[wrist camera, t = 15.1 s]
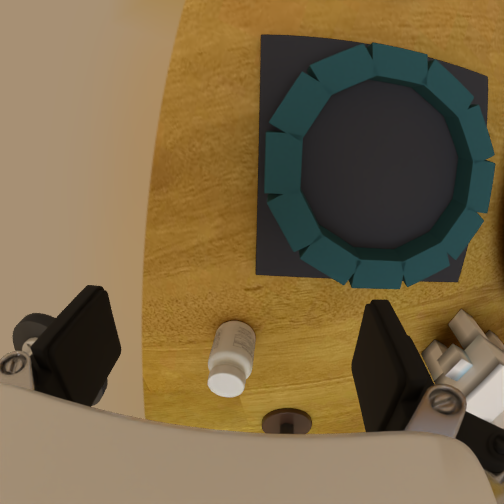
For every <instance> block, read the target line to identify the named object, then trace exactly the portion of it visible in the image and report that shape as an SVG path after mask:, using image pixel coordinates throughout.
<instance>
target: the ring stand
mask: <svg viewBox="0 0 504 504" xmlns="http://www.w3.org/2000/svg"><path fill="white" fill-rule="evenodd" d="M311 426H312V422H311V418H310V416H309V415H308V414H307V413H305V412H303V411H301V410H297V409H279V410H275V411H272V412H270V413H268V414H267V415H266V416H265V417H264V418H263V420H262V429H263V431H264V432H265V433H269V434H306V433H308V432H309V431H310V429H311Z"/></svg>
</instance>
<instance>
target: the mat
mask: <svg viewBox="0 0 504 504" xmlns="http://www.w3.org/2000/svg"><path fill="white" fill-rule="evenodd" d="M360 44H364V45H365V47H368V46H369V45H370V44H365V43H359V42H352V41H345V40H337V39H328V38H318V37H306V36H291V35H261V70H260V118H259V163H258V205H257V245H256V275H269V276H289V277H310V278H331V277H329V276H327V275H326V274H324V273H323V272H321V271H319V270H318V269H316V268H314V267H313V266H311V265H309V264H308V263H306V262H304V261H303V260H301V259H300V255H299V250H298V251H296V252H293V250H292V248H291V247H290V245H289V243H288V241H287V239H286V237H285V235H284V234H283V232H282V230H281V228H280V226H279V224H278V223H277V221H276V219H275V217H274V215H273V214H272V212H271V210H270V208H269V206H268V204H267V197H268V194H269V193H264V176H265V136H266V132H267V131H282V130H280V129H278V128H277V127H275V126H273V125H272V124H270V123H269V121H270V119H271V118H272V116H273V115H274V113H275V111H276V110H277V108H278V107H279V105H280V104H281V102H282V101H283V99H284V98H285V96H286V95H287V93H288V92H289V90H290V88H291V87H292V85H293V84H294V82H295V81H296V79H297V78H298V76H299V75H300V74H301V72H304V73H306V74H308V72H307V69H308V68H309V66H310V65H311V64H313V63H316V62H318V61H320V60H322V59H325V58H327V57H330V56H332V55H334V54H337V53H339V52H342V51H344V50H347V49H349V48H352V47H355V46H357V45H360ZM427 59H428V61H431V60H434V59H433V58H429V57H427ZM436 60H437V59H436ZM437 61H438V62H439V63H440V64H441V65H442V66H443V67H445V68H446V69H447V70H448V71H449V72H450V73H451V74H452V75H453V76H454V77H455V78H456V79H457V80H458V81H459V82H460V83H461V84H462V85H463V86H464V87H465V88H466V89H467V90H468V91H469V92H470V93H471V94H472V95H473V96H474V99H473V100H472V102H471V104H476V105H479V106H480V109H481V112H482V115H483V118H484V121H485V124H486V127H487V110H488V77H487V76H485V75H482V74H479V73H477V72H474V71H471V70H468V69H465V68H462V67H459V66H456V65H453V64H450V63H447V62H443V61H440V60H437ZM308 75H309V74H308ZM457 164H458V155H457V152H456V149H455V146H454V143H453V140H452V137H451V134H450V131H449V129H448V126H447V123H446V121H445V118H444V116H443V115H442V114H441V113H440V112H439V111H437V110H436V109H435V108H434V107H433V106H432V105H431V104H430V103H429V102H428V101H426V100H425V99H424V98H423V97H422V96H421V95H420V94H418V93H417V92H416V91H415V90H414V89H413V88H411V87H407V86H402V85H397V84H391V83H386V82H380V81H374V80H366V81H363V82H361V83H358V84H356V85H354V86H351V87H349V88H347V89H344V90H342V91H340V92H338V93H335V94H333V95H331V97H330V98H329V100H328V101H327V103H326V104H325V106H324V107H323V109H322V110H321V112H320V113H319V115H318V116H317V118H316V119H315V121H314V122H313V124H312V125H311V127H310V128H309V130H308V131H307V133H306V134H305V136H304V137H303V148H302V169H301V187H300V188H301V190H302V192H303V194H304V196H305V197H306V199H307V201H308V203H309V205H310V207H311V209H312V211H313V213H314V215H315V217H316V219H317V221H318V223H319V224H320V225H321V226H323V227H324V228H326V229H327V230H329V231H330V232H332V233H333V234H335V235H336V236H338V237H339V238H341V239H342V240H344V241H345V242H347V243H348V244H350V245H351V246H353V247H361V248H379V249H395V248H398V247H400V246H402V245H404V244H406V243H408V242H410V241H412V240H414V239H416V238H418V237H420V236H422V235H424V234H426V233H428V232H429V231H430V230H431V229H432V227H433V226H434V224H435V223H436V222H437V220H438V219H439V218H440V216H441V215H442V213H443V212H444V210H445V209H446V208H447V206H448V205H449V203H450V202H451V200H452V199H453V193H454V186H455V179H456V172H457ZM467 247H468V245H467V246H466V247H465V249H464V250H463V251H462V253H461V254H460V255H459V257H458V258H457V259H456V260H454V259H453V258H452V257H451V256H450V255H449V254H448V253H447V255H448V259H449V264H450V266H448V267H446V268H444V269H443V270H441V271H439V272H437V273H435V274H433V275H431V276H429V277H427V278H425V279H423V280H421V281H425V282H458V280H459V276H460V273H461V270H462V266H463V262H464V259H465V255H466V251H467ZM402 281H403V280H402Z"/></svg>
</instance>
